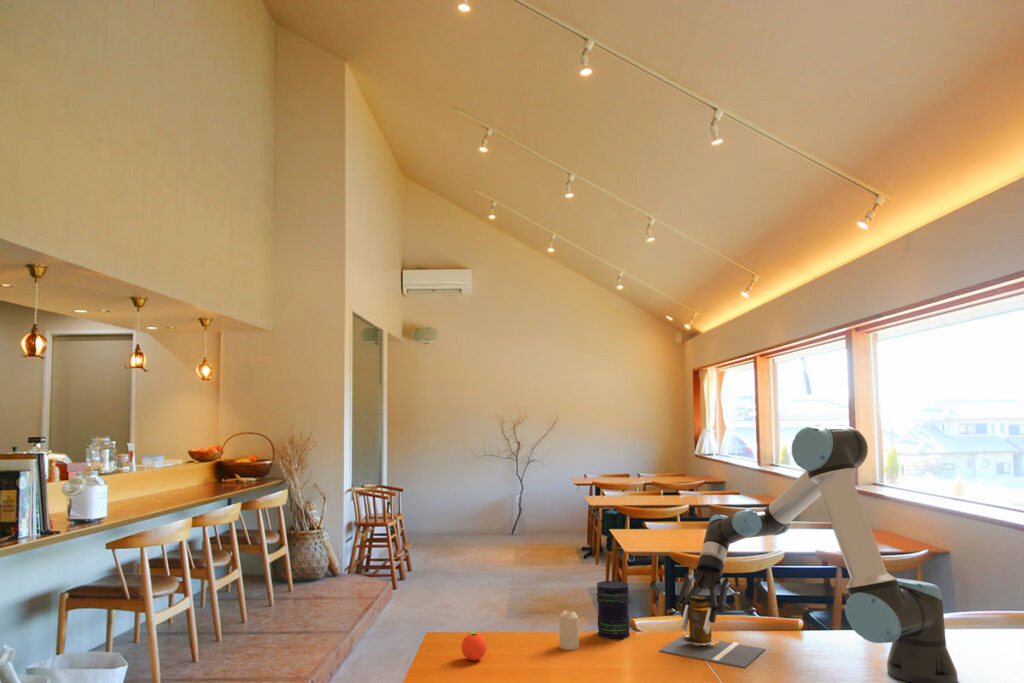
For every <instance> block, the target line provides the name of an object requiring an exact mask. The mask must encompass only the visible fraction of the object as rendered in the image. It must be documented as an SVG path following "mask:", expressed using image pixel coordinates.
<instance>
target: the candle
mask: <svg viewBox="0 0 1024 683" xmlns="http://www.w3.org/2000/svg"><path fill="white" fill-rule="evenodd" d="M558 620H559V621H558V623H559V624H558V627H559V629H558V630H559V648H560V649H562V650H566V651H574V650H577V649H579V648H580V647H579V644H580V643H579V641H580V640H579V616H578V614H577V613H576V612H575V611H574V610H568V609H564V611H563V612H562V613H561V614H560V615H559V617H558Z"/></svg>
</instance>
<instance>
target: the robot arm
mask: <svg viewBox="0 0 1024 683" xmlns="http://www.w3.org/2000/svg"><path fill="white" fill-rule="evenodd" d="M868 447H869V446H868V442H867V440H866V438H865V436H864V435H863V434H862V433H861V432H860V431H859V430H857V429H856V428H854V427H851V426H848V425H822V424H815V425H812V426H806V427H804V428H801V429H800V430H799V431H797V433H796V434H795V436H794V439H793V440H792V443H791V456H792V458H793V461H794V462H795V464H796V465H797V466H798V467H799V468H801V469H802V470H805V471H804V472H803V473H802V474H801V475H800V476H799V477H798V478H797V479H795V480H794V481H793V482H792V484H790V485H789V486H788V487H787V488H785V489H784V491H783V492H782V493H780V494H779V495H778V496H777V497H776V498H775V499H774V500H773V501H772V502H771V503H770V504H769V505H767V507H765V508H764V509H763V510H758V511H755V510H752V509H750V508H746V509H743V510H738V511H737V512H735V513H734V514H731V515H729V516H727V515H723V514H719V515H718V514H715V515H712V516H711V517H710V519H709V521H708V523H707V527H706V531H705V534H704V538H703V543H702V548H701V550H700V554H699V557H698V561H697V565H696V569H695V572H694V573H693V574H689V573H688V572H687V573H684V581H683V583H682V587H681V589H680V593H679V595H678V597H677V602H678V604H679V606H680V607H682V608H681V610H680V616H681V621H680V627H681V628H682V631H687V628H688V626H689V605H690V596H692V595H700V594H699V593H701V592H702V590H708V591H709V597H710V598H709V599H710V608H708V611H707V615H706V619H705V623H704V628H703V629H704V631H705V633H706V634H708V635H709V631H710V627H711V628H712V624H714V623H715V622H716V619H717V614H718V613H725V610H726V603H727V596H728V592H729V591H728V590H729V588H730V586H731V582H730V580H729V578H728V577H725V578H723V573H724V572H723V571H724V568H725V564H726V559H727V555H728V552H729V551H728V550H729V548H730V547H729V546H730V545H731V544H734V543H736V542H738V541H741V540H745V539H751V538H759V537H760V538H761V537H767V536H768V537H769V536H779V535H781V534H785V533H786V532H787V531H788V530H789V528H790V525H791V522H792V521H793V520H794V519H795V518H796V517H797V516H798V515H799V514H801V513H802V512H804V511H805V510H806V508H808V507H809V506H810V505H811V504H812V503H814V502H815V501H816V500H817V499H818V498H819V497H820V496H821V497H822V500H823V503H824V507H825V509H826V512H827V515H828V517H829V520H830V524H831V526H832V529H833V532H834V535H835V538H836V541H837V544H838V547H839V550H840V553H841V556H842V558H843V562H844V564H845V567H846V570H847V573H848V575H849V581H848V583H847V585H846V589H847V590H846V591H847V593H848V596H849V597H848V598H847V600H846V604H845V606H844V612H845V617H846V620H847V622H848V623H849V625H850V627H851V629H852V630H853V631H854V632H855V633H856V634H857V635H858V636H860V637H862V638H863V639H864V640H865V641H868V642H871V643H875V644H884V643H885V644H887V643H891V646H890V648H889V653H888V657H887V661H886V668H887V673H888V675H890V676H892V677H893V678H895V679H898V680H899V679H900V681H902V680H903V682H905V681H906V682H905V683H909V682H911V683H956V682H957V681H958V682H959V680H958V677H959V676H958V671H957V668H956V666H955V664H954V661H953V660H952V656H951V655H950V652H949V651H948V647H947V641H946V629H945V627H946V626H945V620H944V619H945V617H944V606H943V603H944V600H943V598H942V591H941V589H940V587H939V586H938V585H937V584H934V583H930V582H926V581H920V580H916V579H915V580H914V579H907V578H900V577H899V578H898V577H895V576H893V575H891V574H890V573H889V572H888V571H887V568H886V565H885V563H884V561H883V558H882V554H881V552H880V549H879V547H878V545H877V544H878V543H877V541H876V539H875V536H874V533H873V531H872V528H871V525H870V522H869V519H868V518H867V517H868V516H867V514H866V512H865V509H864V506H863V504H862V500H861V497H860V495H859V492H858V490H857V486H856V484H855V481H854V479H853V478H854V477H853V476H854V475H855V473H856V471H857V469H859V468H860V466H862V465H863V464H864V462H865V461H866V460H867V457H868V453H869V452H868V451H869V450H868V449H869V448H868ZM693 580H695V581H694V583H693ZM692 583H693V586H692ZM719 584H720V590H719V596H718V597H719V598H718V602H717V588H716V587H717V586H718V585H719ZM691 586H692V587H691Z"/></svg>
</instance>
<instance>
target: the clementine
mask: <svg viewBox="0 0 1024 683" xmlns="http://www.w3.org/2000/svg"><path fill="white" fill-rule="evenodd" d="M487 645H488V644H487V641H486V639H485V637H484V636H483V635H481V634H480V633H477V632H474V631H473V632H469V634H467V635H466V636H464V638H463V639H462V642H461V646H460V647H461V653H462V654H463V656H464V657H465V658H466V659H467V660H469V661H479V660H480V659H482V658H483V657H484V656H485V655H486V652H487Z"/></svg>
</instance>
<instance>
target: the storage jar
mask: <svg viewBox="0 0 1024 683" xmlns="http://www.w3.org/2000/svg"><path fill="white" fill-rule="evenodd" d="M596 601H597V607H598V608H597V609H598V610H597V611H598V612H597V613H598V615H597V630H598V631H597V636H598V637H600V638H601V639H606V640H611V641H612V640H614V641H616V640H615V639H621V640H625V639H624V638H626V639H628V638H630V636H631V633H630V632H631V631H630V630H631V629H630V627H631V623H630V616H629V603H630V593H629V583H627V582H624V581H619V580H605V581H604V580H603V581H599V582H597V583H596ZM598 633H599V634H598ZM627 637H628V638H627Z"/></svg>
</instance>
